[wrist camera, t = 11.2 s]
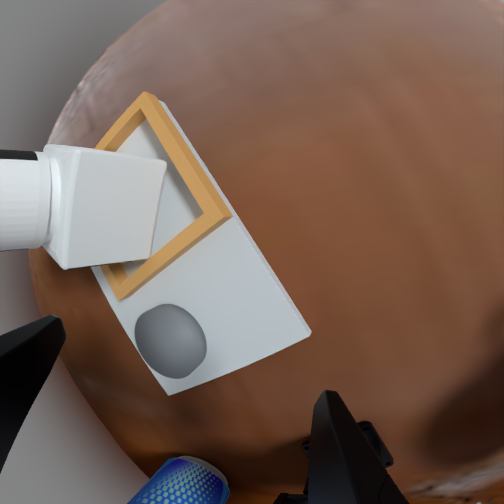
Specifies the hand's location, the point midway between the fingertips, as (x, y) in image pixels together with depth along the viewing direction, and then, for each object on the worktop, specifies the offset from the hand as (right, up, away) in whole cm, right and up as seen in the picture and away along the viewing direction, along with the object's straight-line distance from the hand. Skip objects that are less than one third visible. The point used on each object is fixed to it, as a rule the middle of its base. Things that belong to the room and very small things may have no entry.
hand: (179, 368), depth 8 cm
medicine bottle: (-7, +7, +13) cm, 17 cm away
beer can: (-4, -23, +19) cm, 29 cm away
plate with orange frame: (-5, +3, +15) cm, 16 cm away
